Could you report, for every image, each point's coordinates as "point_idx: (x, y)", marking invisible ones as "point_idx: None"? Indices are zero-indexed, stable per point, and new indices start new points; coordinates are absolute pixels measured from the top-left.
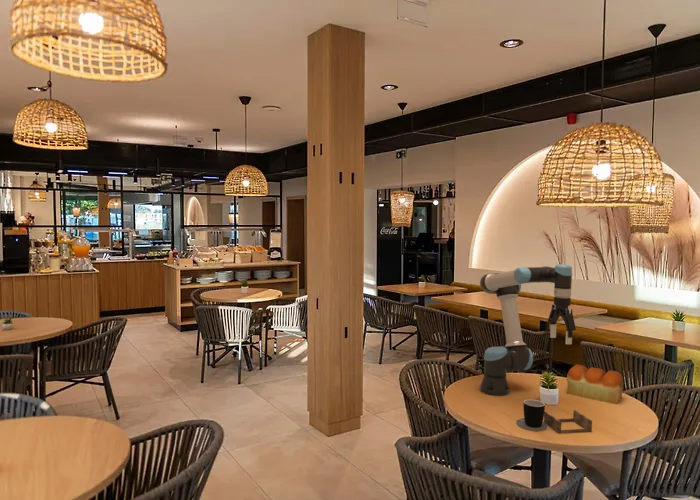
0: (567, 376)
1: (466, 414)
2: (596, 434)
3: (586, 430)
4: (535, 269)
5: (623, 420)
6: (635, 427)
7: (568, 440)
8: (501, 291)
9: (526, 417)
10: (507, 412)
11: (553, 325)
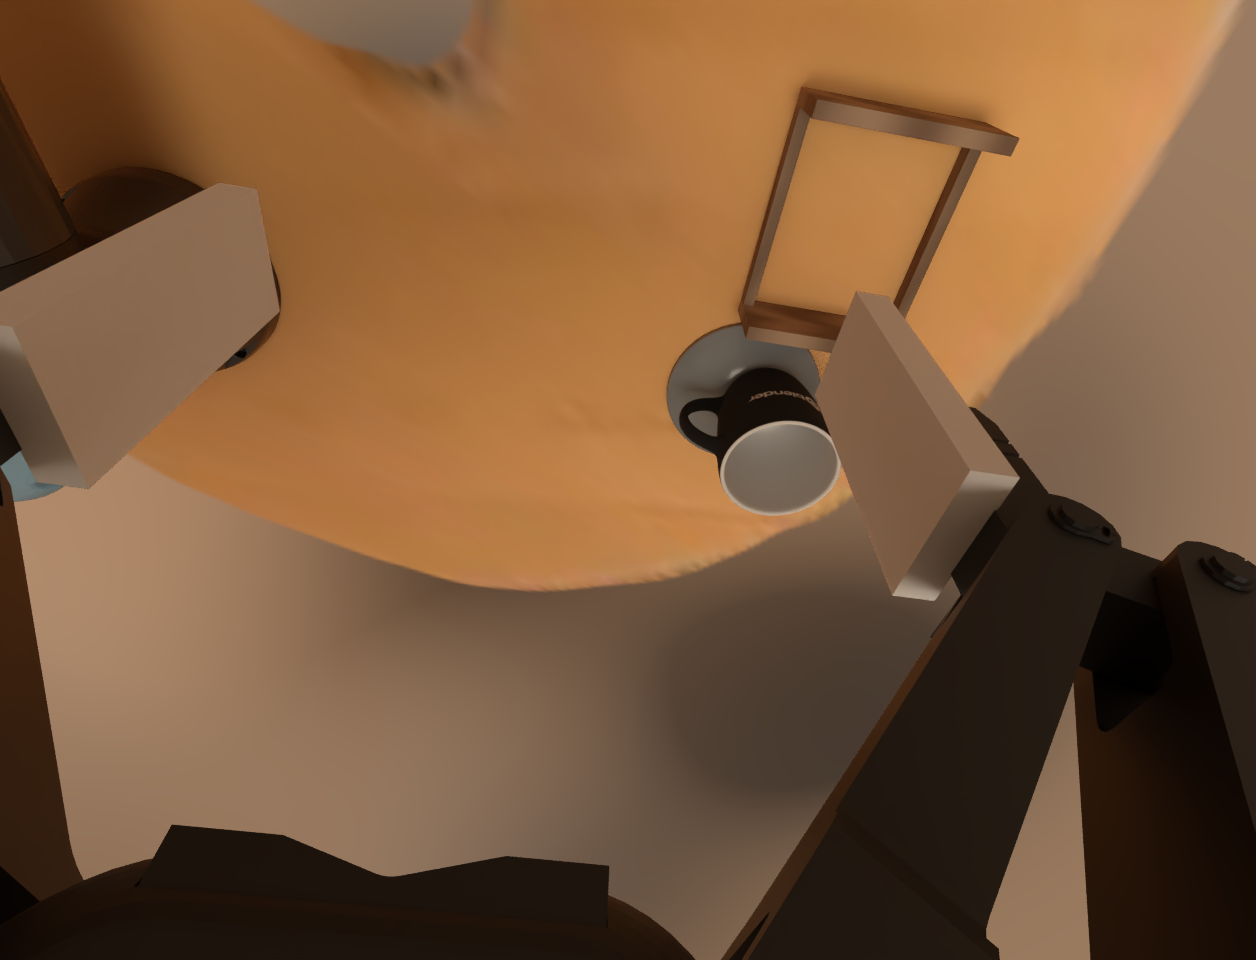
0: None
1: (543, 565)
2: (1027, 122)
3: (971, 165)
4: None
5: None
6: None
7: (972, 346)
8: None
9: (767, 466)
10: (557, 404)
11: (78, 413)
